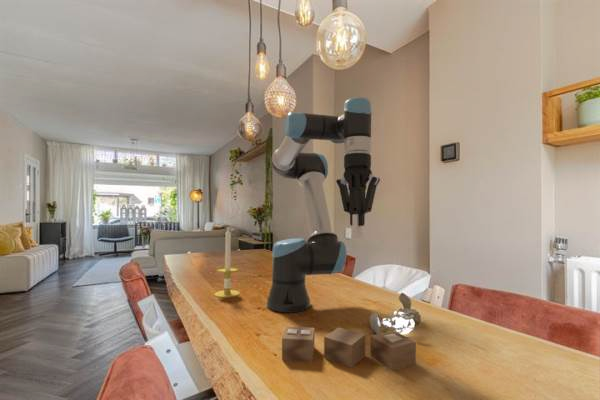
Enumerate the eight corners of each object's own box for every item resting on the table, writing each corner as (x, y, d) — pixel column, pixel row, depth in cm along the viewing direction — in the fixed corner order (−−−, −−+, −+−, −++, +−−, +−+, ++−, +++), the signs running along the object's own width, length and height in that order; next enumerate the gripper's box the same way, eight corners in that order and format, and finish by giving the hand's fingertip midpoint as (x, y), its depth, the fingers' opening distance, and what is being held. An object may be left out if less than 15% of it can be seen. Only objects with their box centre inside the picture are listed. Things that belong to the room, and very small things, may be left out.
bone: (419, 325, 85) (401, 291, 89) (399, 332, 89) (384, 299, 93) (429, 319, 92) (412, 288, 96) (410, 326, 95) (395, 295, 99)
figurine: (368, 309, 91) (410, 305, 88) (372, 331, 90) (414, 327, 87) (368, 318, 82) (414, 314, 79) (372, 342, 81) (419, 339, 78)
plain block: (324, 358, 70) (324, 336, 70) (339, 347, 75) (339, 327, 75) (351, 368, 66) (351, 345, 66) (365, 356, 71) (365, 334, 71)
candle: (236, 297, 116) (237, 227, 117) (210, 297, 116) (212, 227, 117) (242, 290, 126) (243, 226, 127) (218, 290, 126) (219, 225, 127)
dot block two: (281, 360, 69) (282, 337, 69) (286, 346, 76) (286, 325, 76) (312, 362, 68) (312, 338, 68) (314, 348, 75) (314, 326, 75)
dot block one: (370, 357, 71) (370, 334, 71) (393, 351, 74) (393, 329, 74) (392, 371, 64) (392, 346, 64) (415, 364, 67) (415, 340, 68)
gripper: (330, 154, 87) (330, 236, 86) (372, 149, 79) (371, 240, 78) (345, 158, 93) (344, 235, 92) (384, 153, 84) (384, 238, 84)
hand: (357, 237), depth 85 cm, fingers closed
